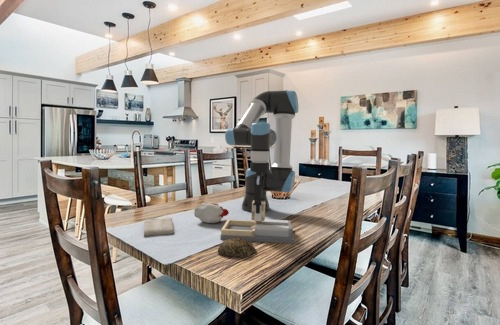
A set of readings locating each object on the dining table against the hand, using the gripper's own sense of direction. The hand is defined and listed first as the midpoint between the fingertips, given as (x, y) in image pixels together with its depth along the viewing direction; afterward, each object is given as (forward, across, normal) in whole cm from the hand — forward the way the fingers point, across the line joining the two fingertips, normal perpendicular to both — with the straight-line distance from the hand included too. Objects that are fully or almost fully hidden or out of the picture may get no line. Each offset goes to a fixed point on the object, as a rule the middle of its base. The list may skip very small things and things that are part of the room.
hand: (258, 218), depth 116 cm
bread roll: (+7, +18, -5) cm, 20 cm away
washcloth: (+7, 0, -42) cm, 43 cm away
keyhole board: (+7, 0, -1) cm, 7 cm away
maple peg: (+5, 0, 0) cm, 5 cm away
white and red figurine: (+7, -14, -22) cm, 27 cm away
